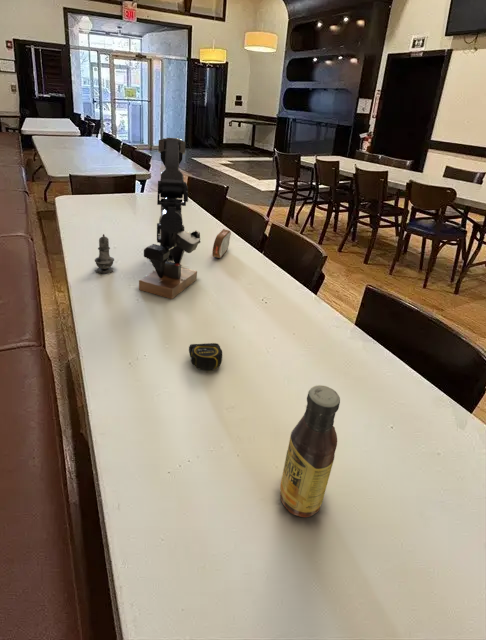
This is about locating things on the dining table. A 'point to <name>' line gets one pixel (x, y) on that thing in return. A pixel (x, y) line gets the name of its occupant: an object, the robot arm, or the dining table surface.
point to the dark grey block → (172, 270)
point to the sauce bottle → (310, 454)
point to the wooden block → (167, 283)
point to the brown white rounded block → (221, 243)
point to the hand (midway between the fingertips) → (169, 272)
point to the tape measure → (205, 355)
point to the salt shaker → (104, 257)
